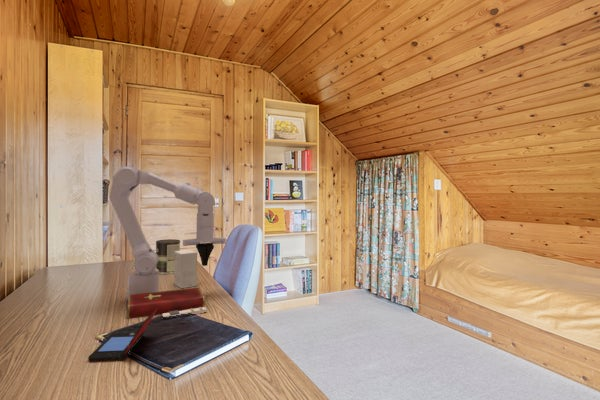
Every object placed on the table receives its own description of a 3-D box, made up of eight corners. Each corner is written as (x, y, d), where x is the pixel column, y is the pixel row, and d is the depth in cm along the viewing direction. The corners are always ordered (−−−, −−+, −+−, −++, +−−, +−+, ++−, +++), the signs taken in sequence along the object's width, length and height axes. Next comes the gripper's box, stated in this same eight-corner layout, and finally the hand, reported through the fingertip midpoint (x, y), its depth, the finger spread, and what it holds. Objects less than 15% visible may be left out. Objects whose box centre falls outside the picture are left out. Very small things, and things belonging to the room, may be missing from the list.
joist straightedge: (163, 319, 91) (163, 315, 91) (162, 317, 93) (162, 312, 93) (206, 312, 97) (206, 308, 97) (204, 310, 99) (204, 305, 99)
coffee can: (154, 274, 142) (154, 242, 142) (156, 269, 152) (157, 239, 152) (179, 273, 145) (179, 241, 145) (180, 268, 155) (180, 239, 155)
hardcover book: (204, 310, 101) (204, 296, 101) (127, 320, 92) (127, 305, 92) (198, 299, 112) (198, 286, 112) (129, 307, 102) (129, 293, 102)
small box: (197, 286, 126) (197, 252, 126) (180, 288, 122) (181, 253, 122) (189, 281, 132) (189, 249, 132) (173, 284, 128) (173, 250, 128)
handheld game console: (111, 337, 80) (112, 307, 80) (158, 336, 81) (158, 306, 81) (85, 363, 67) (85, 327, 67) (140, 361, 69) (141, 326, 69)
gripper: (186, 228, 107) (185, 269, 107) (228, 226, 115) (228, 265, 115) (181, 226, 113) (181, 265, 113) (222, 225, 121) (222, 261, 121)
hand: (204, 265), depth 115 cm, fingers closed
